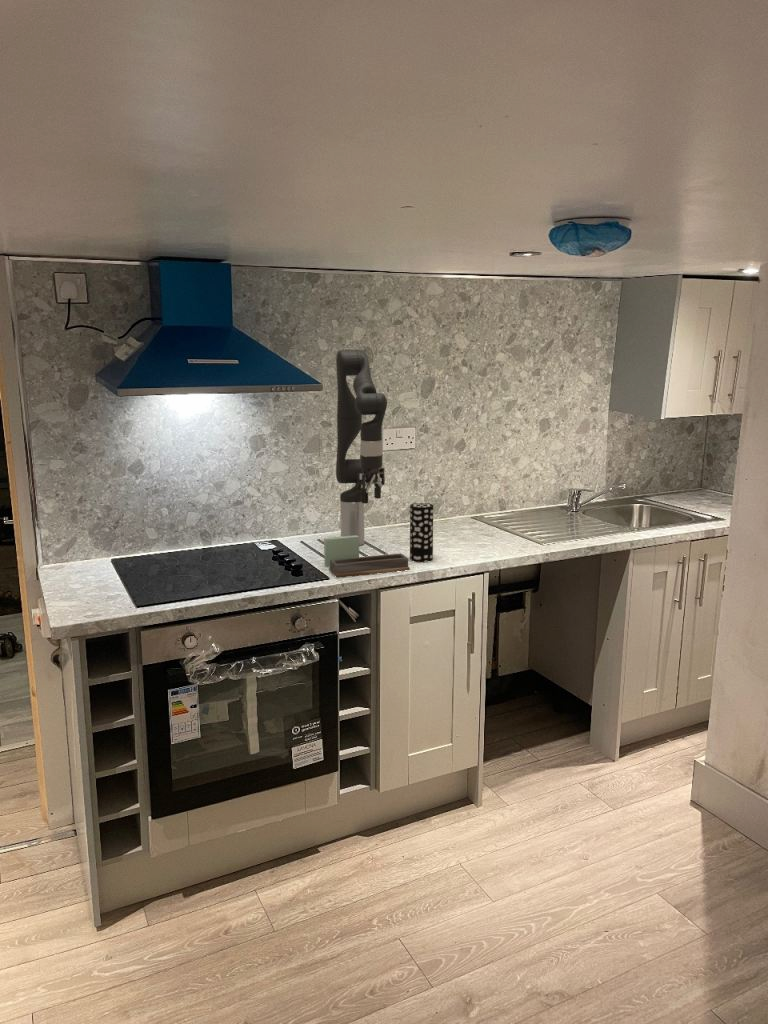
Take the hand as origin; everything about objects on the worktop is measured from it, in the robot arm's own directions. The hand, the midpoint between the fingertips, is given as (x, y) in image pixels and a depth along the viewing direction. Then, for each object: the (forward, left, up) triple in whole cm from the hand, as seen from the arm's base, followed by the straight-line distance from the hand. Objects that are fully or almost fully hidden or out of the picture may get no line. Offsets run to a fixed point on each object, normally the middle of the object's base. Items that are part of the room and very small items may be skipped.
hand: (371, 500), depth 264 cm
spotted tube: (-7, +21, -25) cm, 33 cm away
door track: (0, -1, -24) cm, 24 cm away
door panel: (-10, -8, -25) cm, 28 cm away
